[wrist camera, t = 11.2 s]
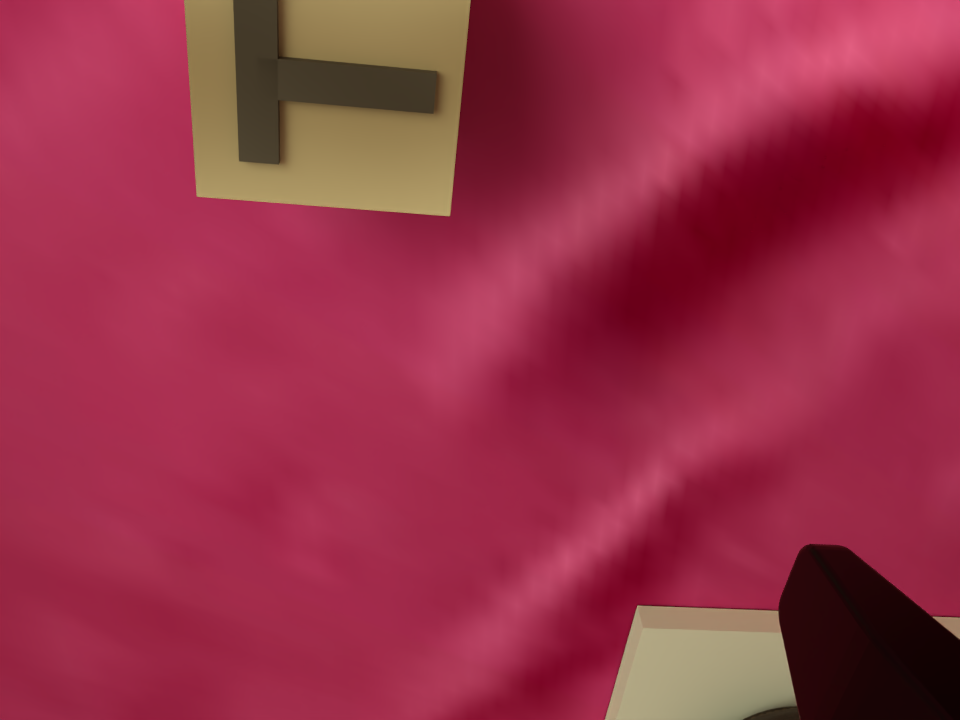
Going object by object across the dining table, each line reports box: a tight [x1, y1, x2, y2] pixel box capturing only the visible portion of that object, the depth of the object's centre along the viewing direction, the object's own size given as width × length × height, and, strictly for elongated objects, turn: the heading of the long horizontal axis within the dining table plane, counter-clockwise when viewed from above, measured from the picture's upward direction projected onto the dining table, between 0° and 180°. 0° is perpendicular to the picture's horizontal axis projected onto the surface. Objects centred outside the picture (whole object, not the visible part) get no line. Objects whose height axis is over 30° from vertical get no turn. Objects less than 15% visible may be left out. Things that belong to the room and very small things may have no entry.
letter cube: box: [184, 0, 471, 216], centre depth 15 cm, size 4×4×4 cm
